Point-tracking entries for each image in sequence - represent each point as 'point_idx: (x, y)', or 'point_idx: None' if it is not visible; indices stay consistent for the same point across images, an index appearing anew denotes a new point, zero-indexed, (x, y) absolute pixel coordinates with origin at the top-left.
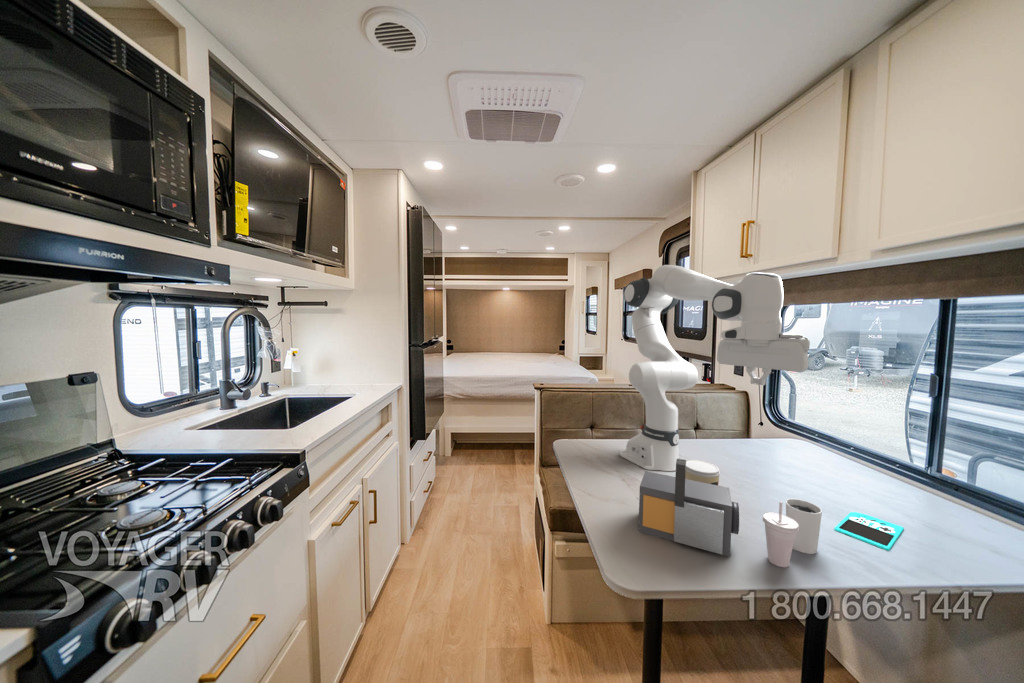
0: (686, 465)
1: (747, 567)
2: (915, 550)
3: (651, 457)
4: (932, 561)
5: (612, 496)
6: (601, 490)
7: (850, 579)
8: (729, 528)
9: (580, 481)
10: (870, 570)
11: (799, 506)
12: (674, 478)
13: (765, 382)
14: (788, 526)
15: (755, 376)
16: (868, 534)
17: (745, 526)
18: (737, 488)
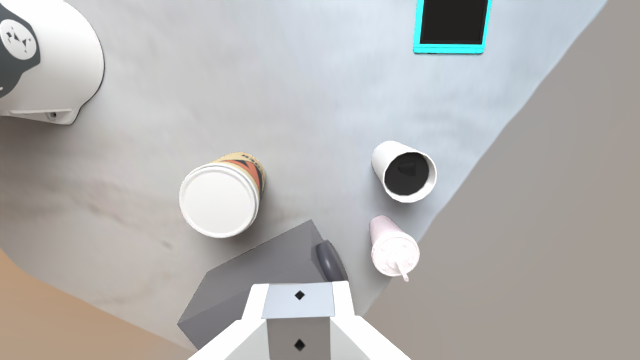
0: (197, 230)
1: (361, 268)
2: (513, 7)
3: (46, 111)
4: (530, 28)
5: (142, 275)
6: (116, 275)
7: (449, 188)
8: None
9: (68, 282)
10: (465, 142)
11: (397, 157)
12: (229, 306)
13: (349, 290)
14: (409, 265)
15: (263, 334)
16: (457, 21)
17: (318, 175)
18: (235, 27)
